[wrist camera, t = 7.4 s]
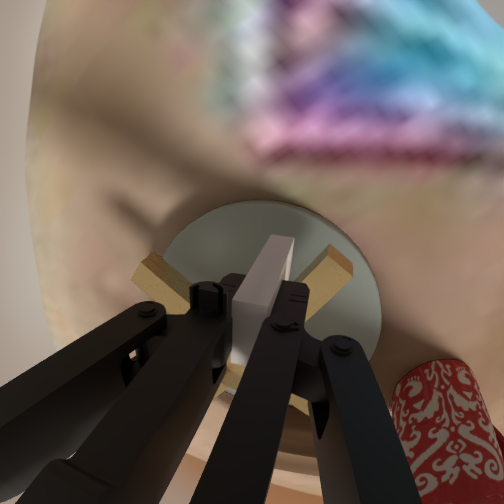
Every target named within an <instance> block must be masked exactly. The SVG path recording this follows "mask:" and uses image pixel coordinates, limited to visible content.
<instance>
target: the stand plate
mask: <svg viewBox="0 0 504 504" xmlns="http://www.w3.org/2000/svg"><path fill="white" fill-rule="evenodd" d="M271 234H272V235H280V236H287V237H294V247H293V257H292V266H291V275H290V281H294V280H295V279H296V278H297V277H298V276H299V275H300V274H301V273H302V272H303V271H304V270H305V269H306V268H307V267H308V266H309V265H310V264H311V263H312V262H313V261H314V259H315V258H316V257H317V256H318V255H319V254H320V253H321V252H322V251H323V250H324V249H325V248H326V247H327V246H328V244H329V243H330V244H331V245H332V246H333V247H335V248H336V249H337V250H338V251H339V252H340V253H342V254H343V255H344V256H345V257H346V258H347V259H349V260H350V261H351V262H352V263H353V278H352V279H351V280H350V281H349V282H348V283H347V284H346V285H344V286H343V287H342V288H341V289H340V290H339V291H338V292H337V293H336V294H335V295H334V296H333V297H332V298H331V299H330V300H329V301H328V302H327V303H326V304H325V305H323V306H322V307H321V308H320V309H319V310H318V311H317V312H316V313H315V314H314V315H313V316H312V317H310V318H309V319H308V320H307V321H306V322H305V324H304V328H305V331H306V332H307V333H308V334H309V335H311V336H312V337H314V338H316V339H318V340H320V341H323V340H324V338H327V337H329V336H332V335H345V336H348V337H351V338H353V339H355V340H356V341H358V342H359V343H360V345H361V346H362V348H363V350H364V352H365V355H366V357H367V359H368V362H369V361H370V359H371V357H372V356H373V354H374V351H375V349H376V346H377V344H378V340H379V336H380V331H381V318H382V314H381V305H380V297H379V290H378V286H377V283H376V279H375V276H374V273H373V271H372V269H371V267H370V265H369V263H368V261H367V259H366V258H365V256H364V255H363V253H362V252H361V250H360V249H359V247H358V246H357V245H356V244H355V243H354V242H353V241H352V240H351V238H350V237H349V236H348V235H347V234H345V233H344V232H343V231H342V230H341V229H340V228H338V227H337V226H336V225H335V224H333V223H332V222H330V221H328V220H327V219H325V218H324V217H322V216H320V215H318V214H316V213H314V212H312V211H310V210H308V209H306V208H303V207H299V206H296V205H293V204H290V203H285V202H279V201H273V200H247V201H239V202H234V203H230V204H226V205H223V206H221V207H218V208H216V209H214V210H211V211H209V212H208V213H206V214H205V215H203V216H201V217H200V218H198V219H196V220H195V221H193V222H192V223H190V224H189V225H188V226H187V227H185V228H184V229H183V230H182V231H181V232H180V233H178V235H177V236H176V237H175V238H174V239H173V241H172V242H171V243H170V244H169V246H168V248H167V249H166V251H165V253H164V254H163V257H162V258H163V259H164V260H165V261H166V262H167V263H169V264H170V265H171V266H172V267H173V268H175V269H176V270H177V271H178V272H179V273H181V274H182V275H183V276H184V277H185V278H187V279H188V280H189V281H190V282H191V283H193V284H194V283H197V282H202V281H214V282H218V283H219V282H220V281H221V279H222V278H223V277H224V276H226V275H228V274H230V273H237V274H244V275H247V274H248V272H249V271H250V269H251V267H252V266H253V264H254V262H255V261H256V259H257V257H258V256H259V254H260V252H261V251H262V249H263V247H264V245H265V244H266V242H267V240H268V239H269V237H270V235H271ZM166 314H169V313H168V312H167V311H166ZM225 391H227V392H229V393H231V394H233V395H235V393H236V390H234V389H232V388H227V389H226V390H225ZM289 404H290V403H289Z"/></svg>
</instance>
